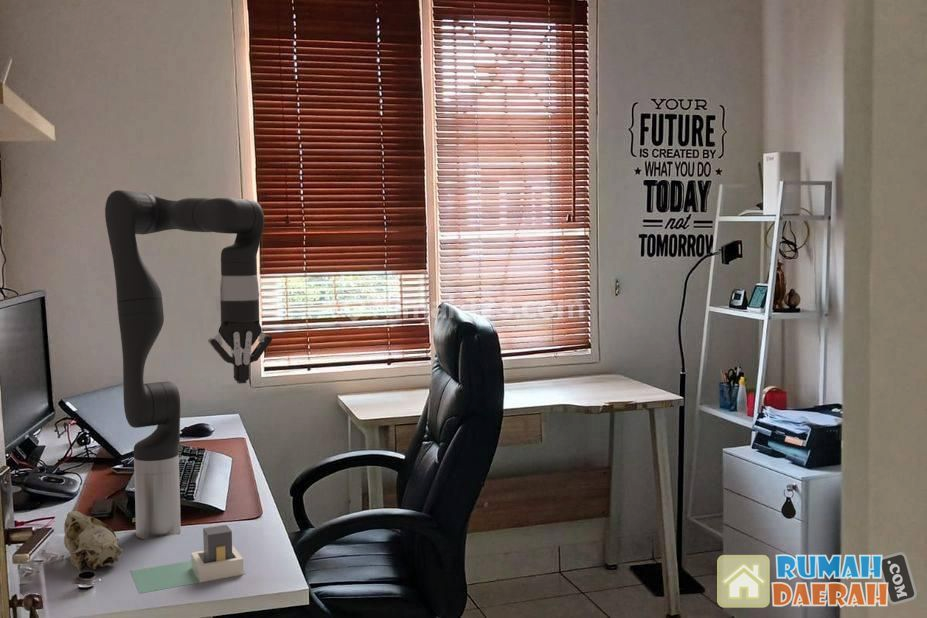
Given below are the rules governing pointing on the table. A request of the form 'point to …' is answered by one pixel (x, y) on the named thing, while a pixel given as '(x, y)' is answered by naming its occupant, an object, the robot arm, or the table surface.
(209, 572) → the frame
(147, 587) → the board
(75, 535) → the skull
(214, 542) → the plug
